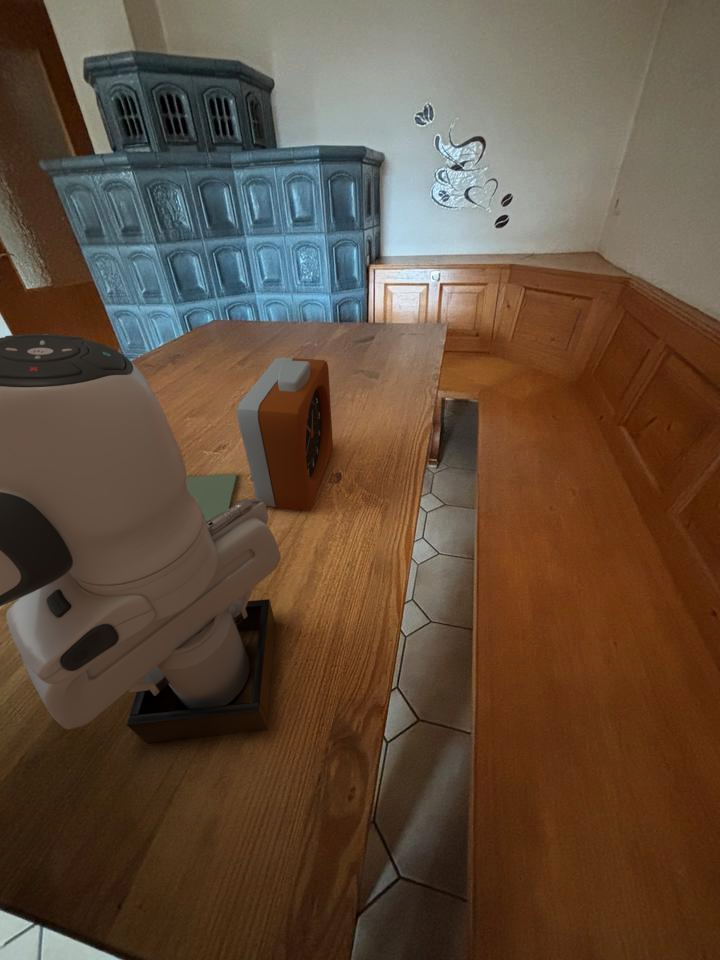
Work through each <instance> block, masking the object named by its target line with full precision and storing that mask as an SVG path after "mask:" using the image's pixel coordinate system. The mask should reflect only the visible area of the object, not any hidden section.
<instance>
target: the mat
mask: <svg viewBox="0 0 720 960" xmlns="http://www.w3.org/2000/svg"><path fill="white" fill-rule="evenodd" d="M237 479H238V474H237V473H228V474H227V473H226V474H211V475H196V476H186V485H187V488H188V490H189V492H190V493H191V494H192V495H193V496H194V497H195V498H196V500H197V501H198V503H199V505H200V507H201V509H202V513H203V515H204V518H205V521H206V522H207V521H208V520H210V519H212V518H213V517H215V516H216V515H218V514H220V513H222V512H224V511H226V510H228V509H230V508H231V507H232V506H231V505H232V502H233V501H232V500H233V497H234V493H235V489H236V484H237Z"/></svg>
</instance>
